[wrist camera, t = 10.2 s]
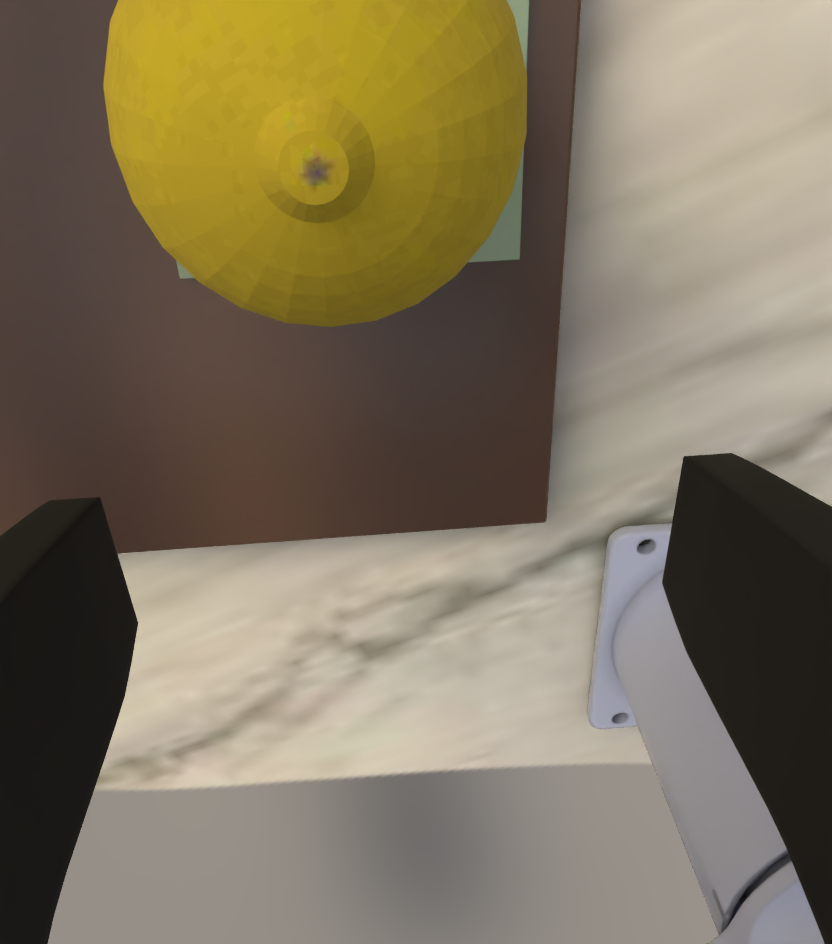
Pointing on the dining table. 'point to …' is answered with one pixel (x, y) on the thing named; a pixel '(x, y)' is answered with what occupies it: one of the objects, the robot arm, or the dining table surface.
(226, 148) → the lemon
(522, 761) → the dining table surface
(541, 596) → the dining table surface
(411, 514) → the board
